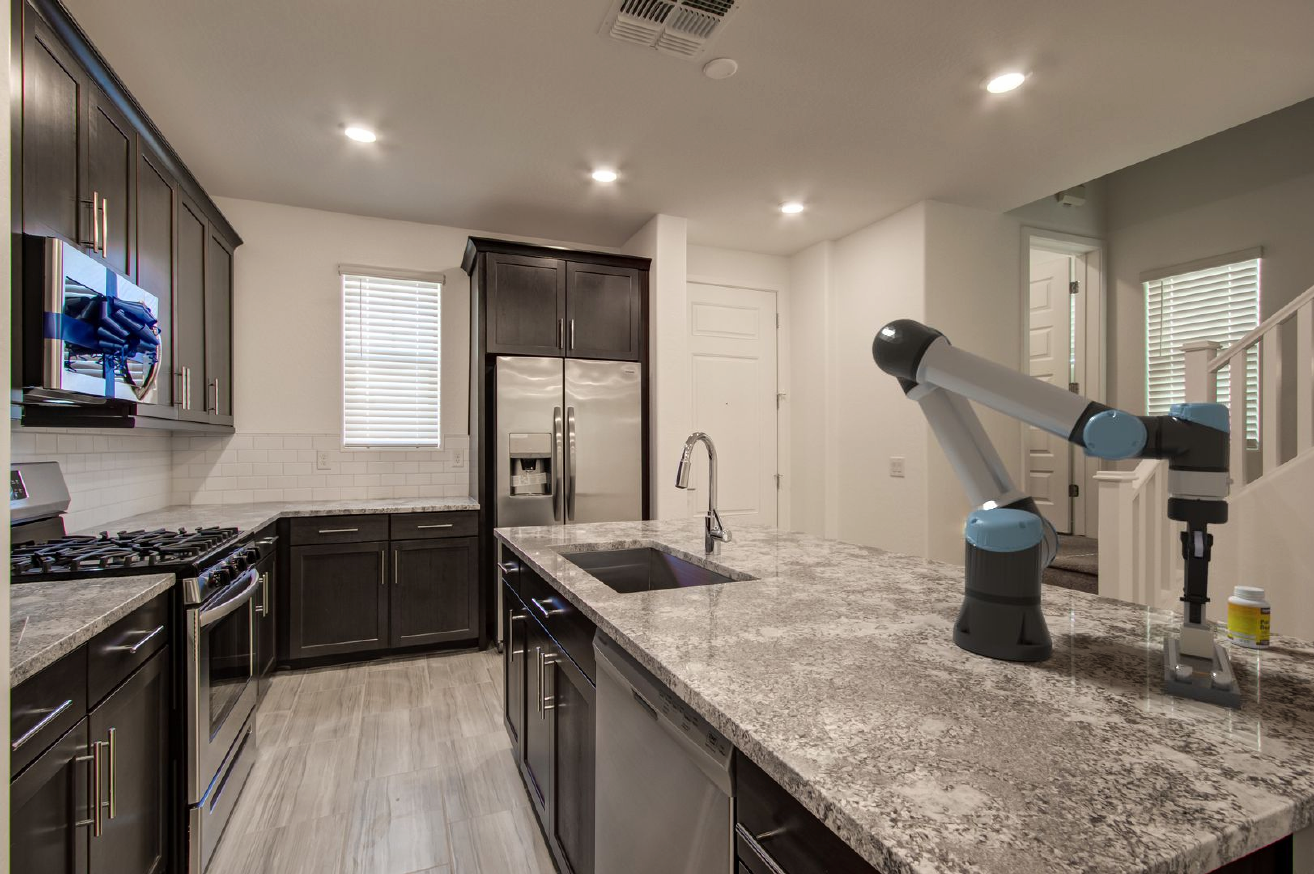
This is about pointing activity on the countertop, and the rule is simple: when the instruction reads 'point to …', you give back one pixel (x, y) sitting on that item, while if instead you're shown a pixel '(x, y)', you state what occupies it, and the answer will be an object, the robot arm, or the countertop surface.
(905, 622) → the countertop surface
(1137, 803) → the countertop surface
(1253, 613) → the supplement bottle
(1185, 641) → the fader tab
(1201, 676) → the console
